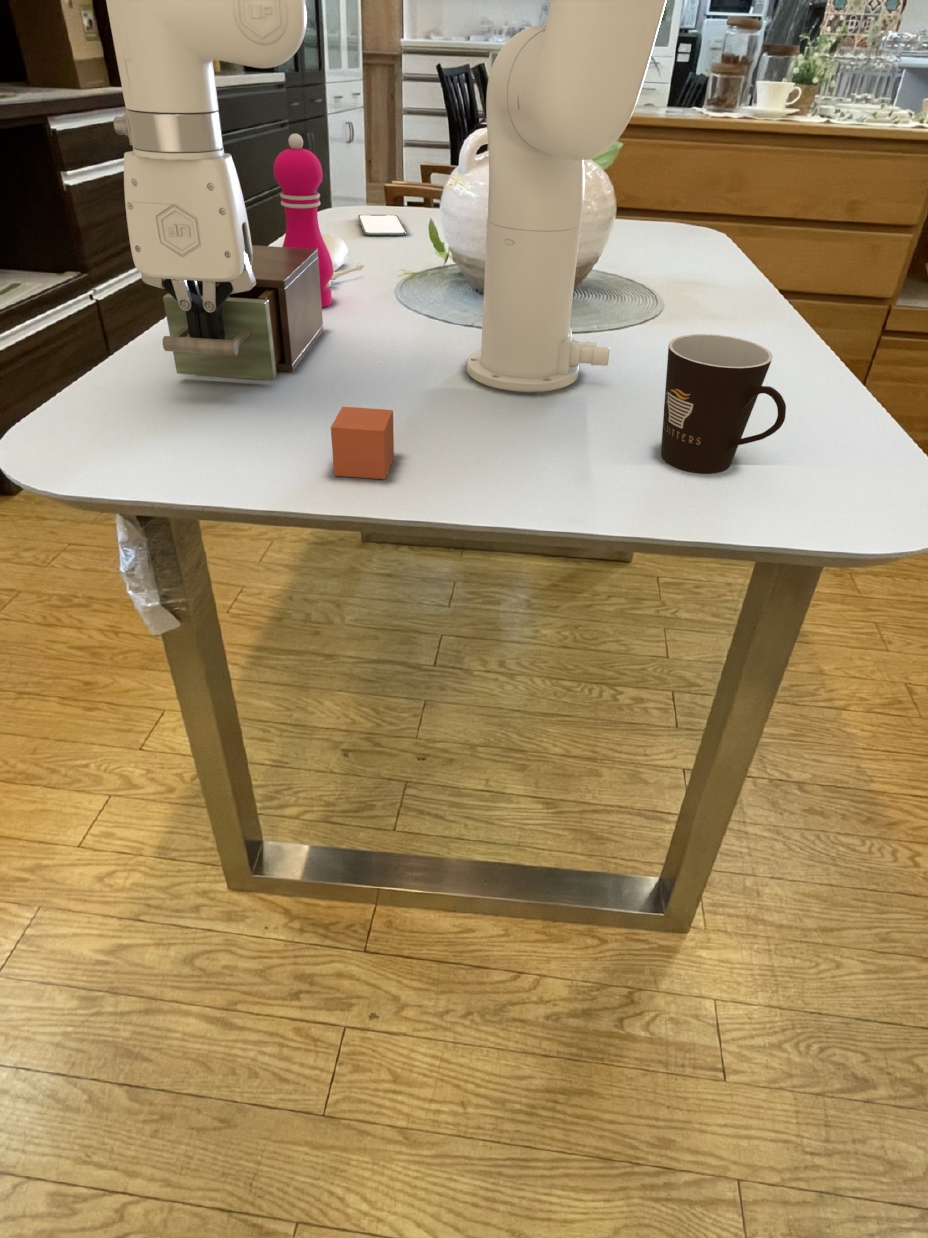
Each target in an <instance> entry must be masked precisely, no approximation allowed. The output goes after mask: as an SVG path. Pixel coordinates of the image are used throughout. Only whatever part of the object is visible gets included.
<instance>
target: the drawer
mask: <svg viewBox="0 0 928 1238" xmlns="http://www.w3.org/2000/svg"><path fill="white" fill-rule="evenodd" d="M197 284H198V287H199V291H200V294H201V299H202V300H203V283H197ZM162 300H163V304H164V310H165V316H166V321H167V326H168V332H169V335H164V336H163V338H162V348H163V350H164V352H172V355H173V360H174V365H175V371H176V374H178V375H194V376H206V377H221V378H222V377H223V378H237V379H238V378H239V379H251V380H268V381H274V380H275V379H276V378H277V376H278V374H277V371H276V365H277V363H278V362H279V361H280V360H281V359H282V357H283V356H284V346H283V336H282V326H281V316H280V306H279V296H278V288H269V287H254V288H252V289H251V290H249V291H245V292H240V293H234V294H231V295H230V296H229V297H228V298H227V300H226V301H225V302H224V304H222V305H221V310H222V317H223V325H224V332H225V340H222V339H207V338H191V337H190V336H189V330H188V324H187V318H186V311H184V310H182V309H181V308H180V306H179V303H178V301H177V300H175V299H174V298H173V297H172V296H171V295H170V294H169V293H166V294H165V295H164V296H163V297H162Z"/></svg>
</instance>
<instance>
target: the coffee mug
mask: <svg viewBox="0 0 928 1238" xmlns="http://www.w3.org/2000/svg"><path fill="white" fill-rule="evenodd" d="M667 348H668V350H667V362H666V376H665V390H664V403H663V416H662V418H663V419H662V431H661V433H662V434H661V444H660V445H661V447H660V457H661V459H662V460H663V462H665V464H667V465H669V466H670V467H672V468H674V469H677V470H679V471H683V472H687V473H691V474H698V475H713V474H714V475H716V474H720V473H723V472H726V471H727V470H729V469H730V467H731V465H732V463H733V461H734V457H735V455H736V453H737V450H738V447H739V446H741V445H742V446H743V445H747V444H750V443H754V442H758V441H762V440H764V439H766V438H768V437H770V436H772V435H774V434H775V433H776V432H778V430H780V428H781V427H782V426H783V424H784V422H785V421H786V415H787V414H786V412H787V405H786V401H785V399H784V397H783V395H782V394H781V393H780V392H779V391H778V390H777V389H776V388H774V387H772V386H769V385H763V384H764V382H765V378H766V376H767V373H768V371H769V370H770V369H769V368H770V366H771V364H772V361H773V354H772V352H771V351H770V350H769V349H767V348H766V347H764V346H762V345H760V344H758V343H756V342H752V341H751V340H750V341H749V340H747V339H744V338H743V339H742V338H738V337H734V336H729V335H721V334H705V333H700V334H697V333H696V334H687V335H686V334H685V335H682V336H678V337H675V338H673V339H672V340H670V341H669V343H668V347H667ZM760 394H766V395H768V396H769V397H771V398H772V400H773V401H774V403H775V405H776V409H777V416H776V420H775V422H774V423H773V425H772V426H771V427H769V428H768V429H766V430H765V431H763V432H761V433H758V434H754V435H751V436H747V437H743V434H744V432H745V430H746V427H747V424H748V422H749V419H750V417H751V414H752V412H753V410H754V407H755V404H756V403H757V399H758V396H759V395H760Z"/></svg>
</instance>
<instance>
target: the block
mask: <svg viewBox="0 0 928 1238" xmlns="http://www.w3.org/2000/svg"><path fill="white" fill-rule="evenodd" d="M394 432H395V431H394V410H393V409H384V408H371V407H358V406H357V407H356V406H342V407H341V409H340V410H339V411H338V413H337V415H336V417H335V418H334V420H333V422H332V424H331V426H330V436H331V448H332V449H331V451H332V465H333V476H335V477H344V478H345V477H346V478H357V479H359V478H361V479H373V480H386V479H387V476H388V474H389V472H390V469H391V466H392V463H393V461H394V458H395V441H394V439H395V436H394V434H395V433H394Z"/></svg>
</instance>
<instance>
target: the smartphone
mask: <svg viewBox="0 0 928 1238" xmlns="http://www.w3.org/2000/svg"><path fill="white" fill-rule="evenodd" d="M357 218H358V221H359V223H360V226H361V229H362V231H363V234H364V235H365V236H405V235H407V231H406V228H405V227H404V225H403V223H402V221H401V219H400V217H399V215H396V214H358V216H357Z"/></svg>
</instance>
